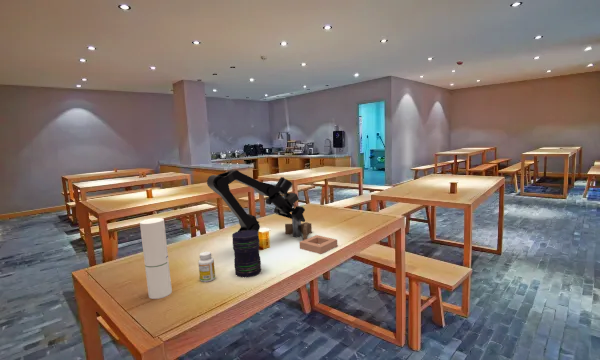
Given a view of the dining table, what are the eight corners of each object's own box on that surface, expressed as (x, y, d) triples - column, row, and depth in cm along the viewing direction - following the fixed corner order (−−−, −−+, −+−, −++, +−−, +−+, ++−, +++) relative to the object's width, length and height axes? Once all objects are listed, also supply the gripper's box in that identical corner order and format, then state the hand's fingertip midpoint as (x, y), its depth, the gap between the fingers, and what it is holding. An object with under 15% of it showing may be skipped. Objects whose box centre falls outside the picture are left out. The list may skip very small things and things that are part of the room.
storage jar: (266, 271, 120) (263, 233, 118) (244, 280, 113) (240, 239, 111) (252, 264, 127) (249, 228, 125) (230, 272, 121) (226, 234, 119)
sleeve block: (320, 254, 135) (320, 247, 134) (299, 248, 143) (299, 242, 142) (337, 246, 143) (337, 239, 143) (316, 241, 151) (316, 235, 151)
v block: (304, 240, 154) (304, 230, 153) (284, 233, 166) (283, 224, 165) (319, 235, 160) (319, 225, 159) (299, 229, 172) (298, 220, 172)
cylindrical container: (175, 287, 110) (167, 217, 107) (167, 298, 103) (158, 223, 100) (154, 289, 110) (145, 218, 107) (144, 299, 103) (135, 224, 100)
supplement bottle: (209, 274, 120) (207, 249, 119) (218, 277, 116) (216, 252, 115) (197, 279, 116) (194, 254, 114) (205, 283, 112) (203, 257, 111)
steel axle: (303, 236, 160) (301, 210, 158) (295, 237, 158) (294, 212, 156) (299, 234, 164) (297, 209, 162) (291, 235, 162) (290, 210, 160)
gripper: (300, 190, 148) (319, 209, 157) (277, 186, 162) (295, 204, 171) (288, 210, 144) (307, 228, 153) (265, 204, 158) (284, 221, 167)
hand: (298, 219), depth 161 cm, fingers open, 9 cm apart
